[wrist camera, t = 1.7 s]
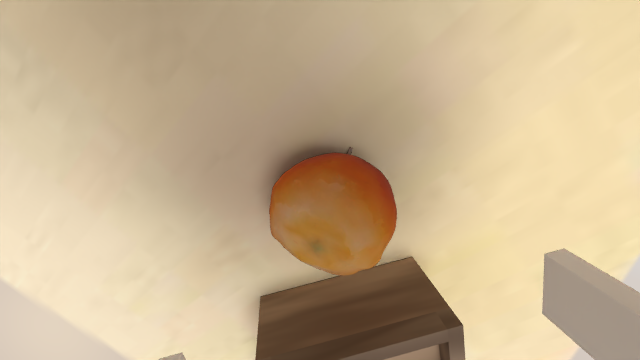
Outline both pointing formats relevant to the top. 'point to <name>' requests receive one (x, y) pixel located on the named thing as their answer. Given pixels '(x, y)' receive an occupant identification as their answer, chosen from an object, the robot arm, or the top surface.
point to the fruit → (334, 213)
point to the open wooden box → (361, 319)
